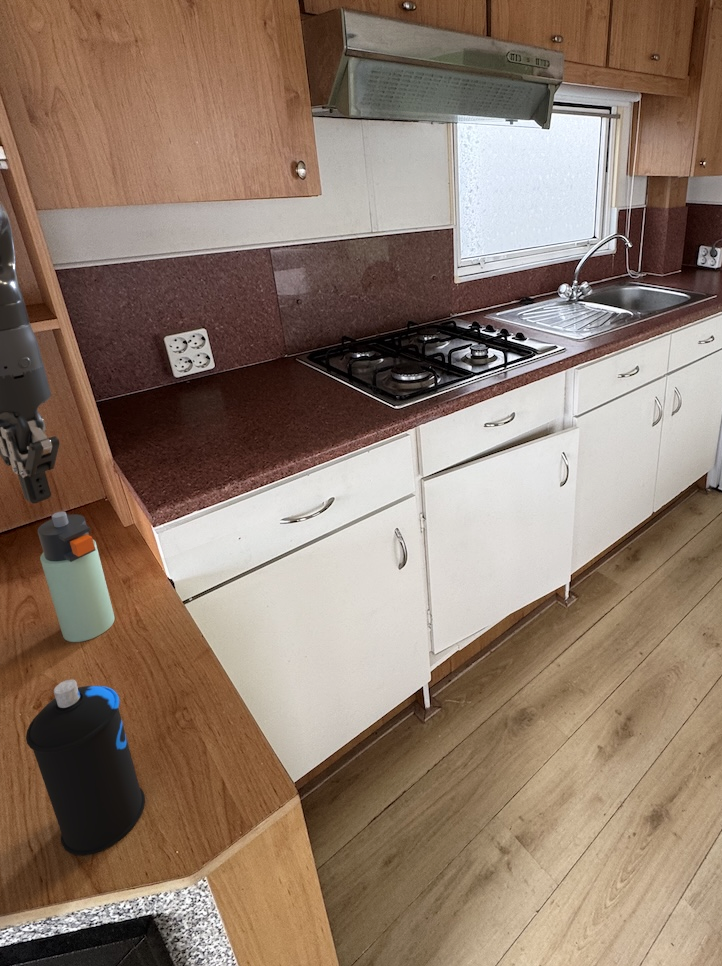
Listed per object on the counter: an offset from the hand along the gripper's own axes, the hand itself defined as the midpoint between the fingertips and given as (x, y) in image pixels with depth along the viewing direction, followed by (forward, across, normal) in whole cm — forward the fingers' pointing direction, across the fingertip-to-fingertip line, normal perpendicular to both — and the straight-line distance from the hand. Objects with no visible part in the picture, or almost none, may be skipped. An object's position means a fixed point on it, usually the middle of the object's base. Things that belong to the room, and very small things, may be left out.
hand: (39, 499), depth 71 cm
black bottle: (+33, +18, -8) cm, 39 cm away
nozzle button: (+16, -12, +8) cm, 22 cm away
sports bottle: (+33, -17, +8) cm, 38 cm away
